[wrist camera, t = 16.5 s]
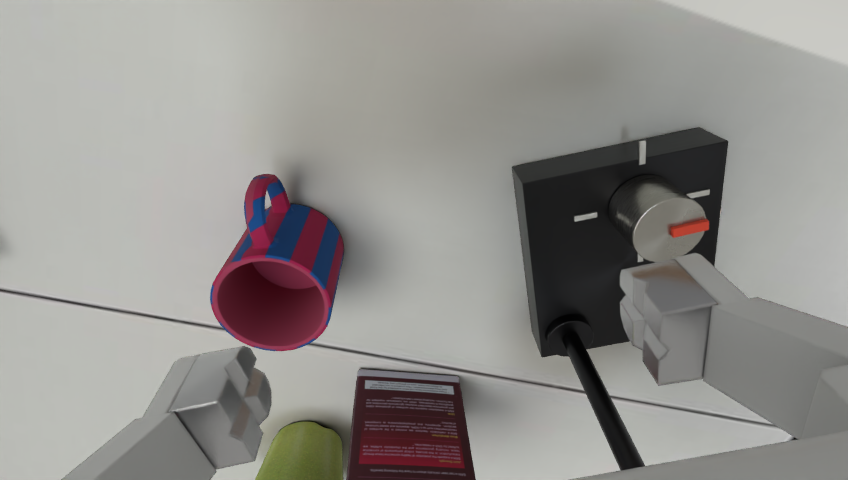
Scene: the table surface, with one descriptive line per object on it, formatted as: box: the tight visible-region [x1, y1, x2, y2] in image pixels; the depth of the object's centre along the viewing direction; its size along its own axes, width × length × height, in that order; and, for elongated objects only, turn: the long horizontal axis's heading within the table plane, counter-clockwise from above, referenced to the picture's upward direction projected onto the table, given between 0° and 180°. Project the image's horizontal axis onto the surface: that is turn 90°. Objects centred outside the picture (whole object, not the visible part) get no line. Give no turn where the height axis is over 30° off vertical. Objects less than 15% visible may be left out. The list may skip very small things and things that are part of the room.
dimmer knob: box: [609, 175, 709, 262], centre depth 27 cm, size 4×4×4 cm
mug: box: [210, 174, 344, 351], centre depth 29 cm, size 7×10×7 cm
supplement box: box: [346, 369, 476, 480], centre depth 33 cm, size 9×5×16 cm, turn 82°
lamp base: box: [512, 128, 728, 357], centre depth 32 cm, size 15×12×3 cm
